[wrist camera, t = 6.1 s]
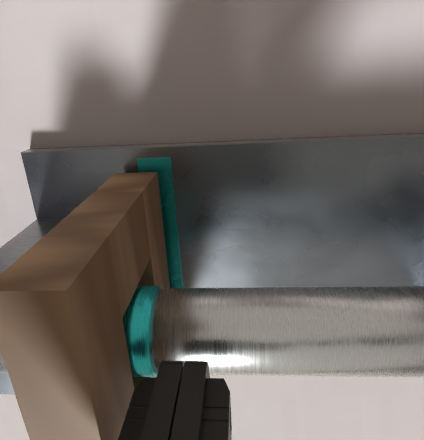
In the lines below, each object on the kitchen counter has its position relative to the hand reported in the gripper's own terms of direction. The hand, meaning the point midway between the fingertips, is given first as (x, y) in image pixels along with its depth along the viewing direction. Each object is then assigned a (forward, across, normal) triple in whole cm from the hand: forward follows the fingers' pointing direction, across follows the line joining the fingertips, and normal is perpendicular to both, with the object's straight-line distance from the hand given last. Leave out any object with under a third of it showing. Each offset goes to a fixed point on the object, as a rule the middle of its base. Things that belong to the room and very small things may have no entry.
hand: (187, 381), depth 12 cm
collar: (+8, +3, 0) cm, 8 cm away
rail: (+9, -2, 0) cm, 9 cm away
